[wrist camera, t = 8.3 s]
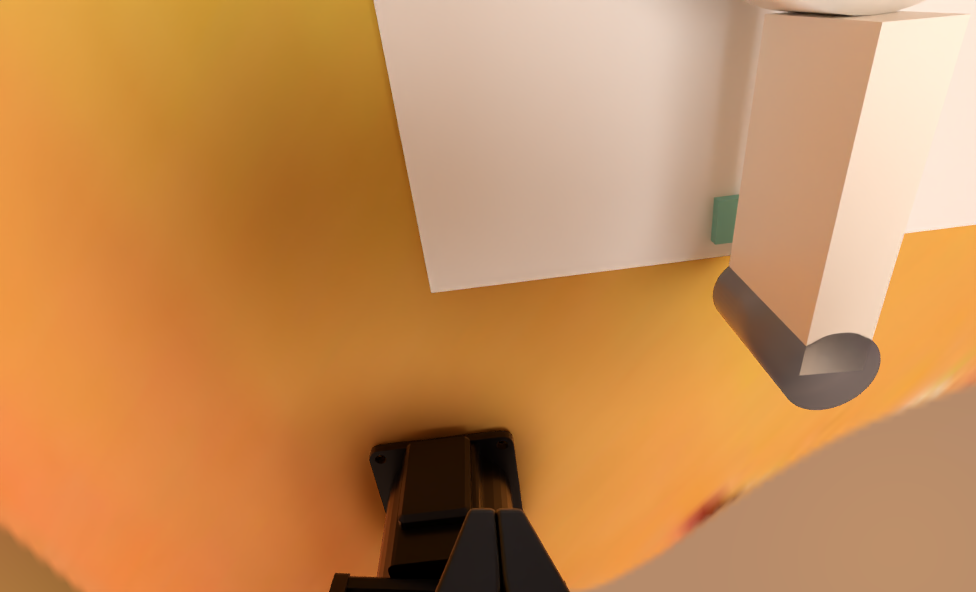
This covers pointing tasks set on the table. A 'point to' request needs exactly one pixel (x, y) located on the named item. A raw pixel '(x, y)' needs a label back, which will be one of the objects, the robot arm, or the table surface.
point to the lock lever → (831, 184)
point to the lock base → (603, 132)
